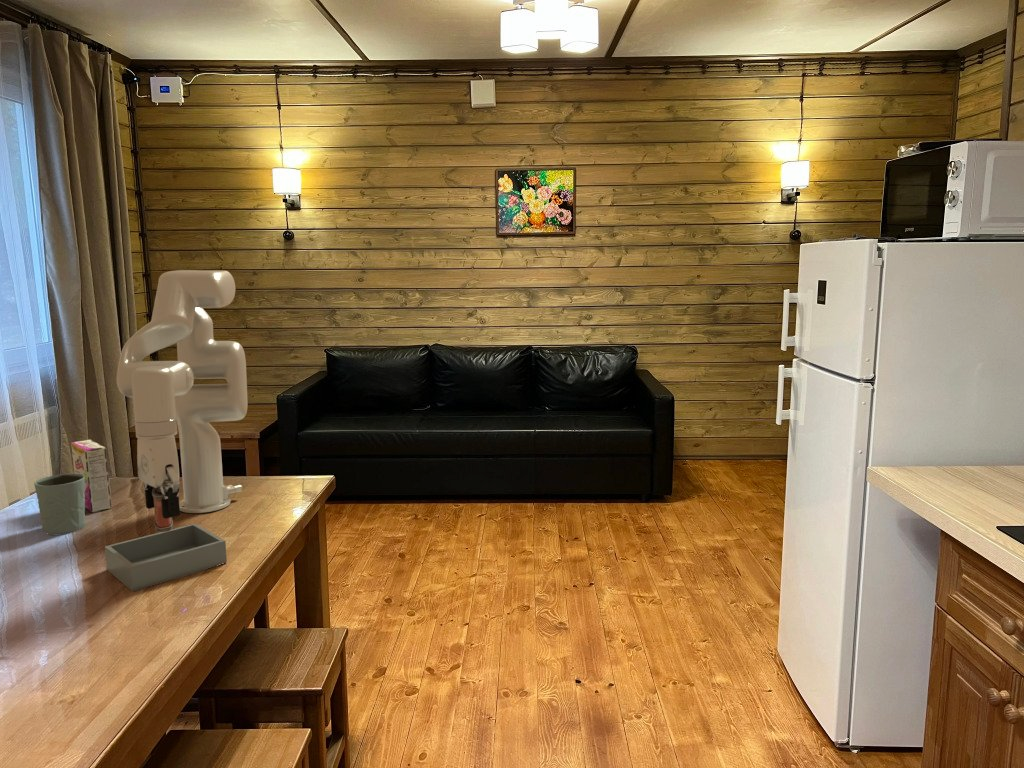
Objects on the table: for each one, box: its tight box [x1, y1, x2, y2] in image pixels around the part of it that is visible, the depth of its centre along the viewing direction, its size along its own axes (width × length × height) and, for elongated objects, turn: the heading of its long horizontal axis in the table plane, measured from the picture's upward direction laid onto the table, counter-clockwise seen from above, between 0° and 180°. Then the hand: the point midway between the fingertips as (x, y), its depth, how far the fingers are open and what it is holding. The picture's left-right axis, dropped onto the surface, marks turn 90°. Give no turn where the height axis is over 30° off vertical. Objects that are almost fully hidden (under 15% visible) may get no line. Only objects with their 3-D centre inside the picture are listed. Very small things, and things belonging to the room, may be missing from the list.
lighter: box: [152, 481, 174, 533], centre depth 152 cm, size 8×3×10 cm, turn 27°
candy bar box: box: [70, 439, 112, 513], centre depth 190 cm, size 11×5×16 cm, turn 47°
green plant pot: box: [33, 473, 86, 535], centre depth 175 cm, size 10×10×12 cm
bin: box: [104, 523, 228, 592], centre depth 154 cm, size 19×15×5 cm
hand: (162, 511), depth 152 cm, fingers closed on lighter, 7 cm apart
